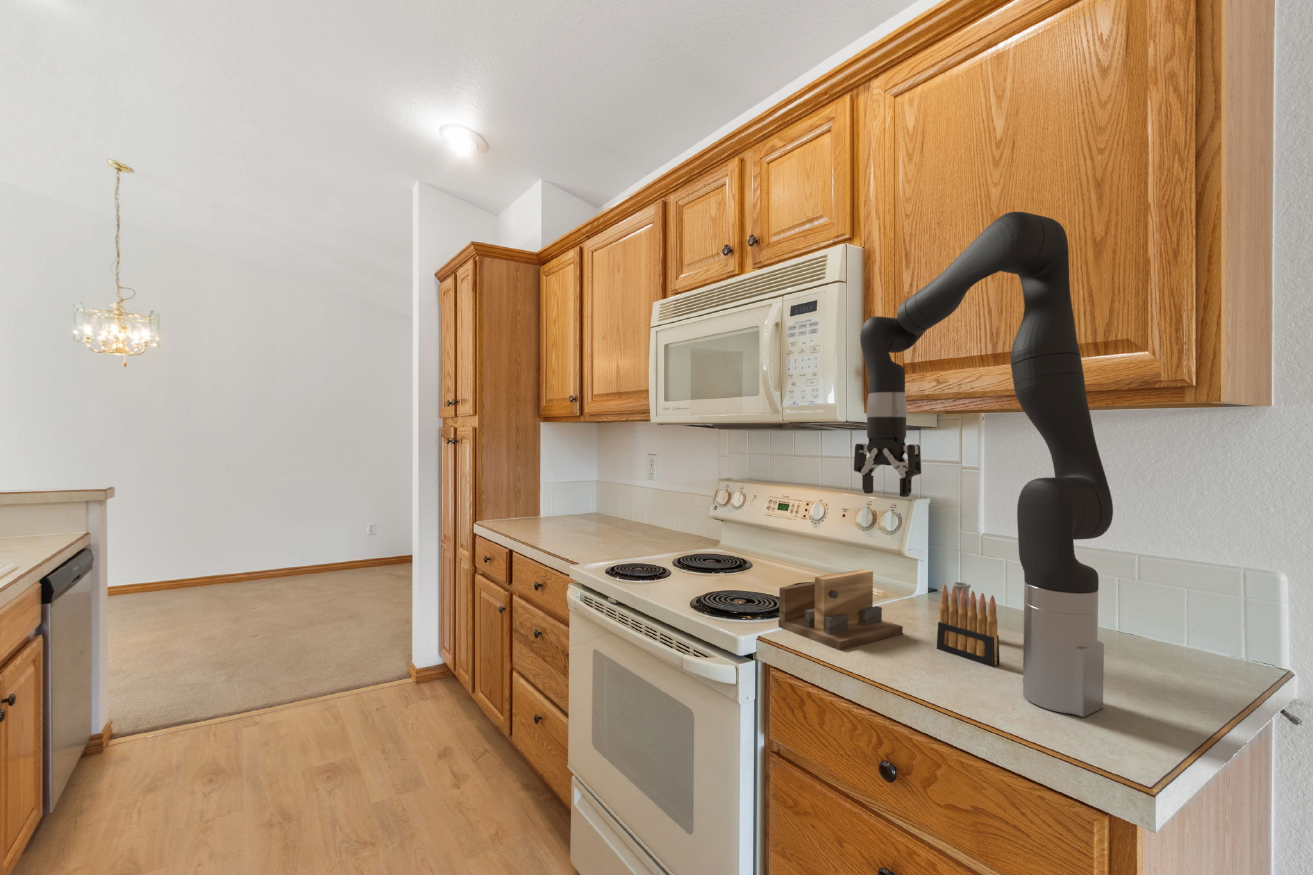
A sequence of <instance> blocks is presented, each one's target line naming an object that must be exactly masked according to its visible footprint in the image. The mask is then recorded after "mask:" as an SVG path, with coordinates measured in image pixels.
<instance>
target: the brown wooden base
mask: <svg viewBox="0 0 1313 875" xmlns="http://www.w3.org/2000/svg"><path fill="white" fill-rule="evenodd" d="M778 594H779V599H778V600H779V602H778V603H779V607H778V608H779V610H778V612H779V613H778V614H779V616H778V617H779V618H778V625H777V626H778V628H781V629H784V630H786V629H787V631H790V632H792V633H794V634H797V635H800V636H802V637H805V638H807V639H810V640H811V641H814V642H818V643H820V644H823V645H825V646H828V647H831V648H833V649H835V650H838V651H841V650H845V649H849V648H852V647H853V648H854V647H856V646H859V645H864V644H867V643H873V642H876V641H880V640H884V639H887V638H891V637H895V636H899V635H903V629H904V628H903V625H900V624H898V623H895V622H894V623H893V622H889V621H887V620H884V619H882V617H883V616H882V615H883V613H882V612H883V607H882V606H878V605H875V606H873V607H870V608H865V609H861V610H860V623H858V624H854V625H850V626H848V615H847V614H843V613H842V614H837V615H833V616H828V617H825V631H821V630H818V629H816V628H814V624H815V581H811V582H804V583H798V584H792V585H786V586H782V587H781V586H780V587H779V593H778Z"/></svg>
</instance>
